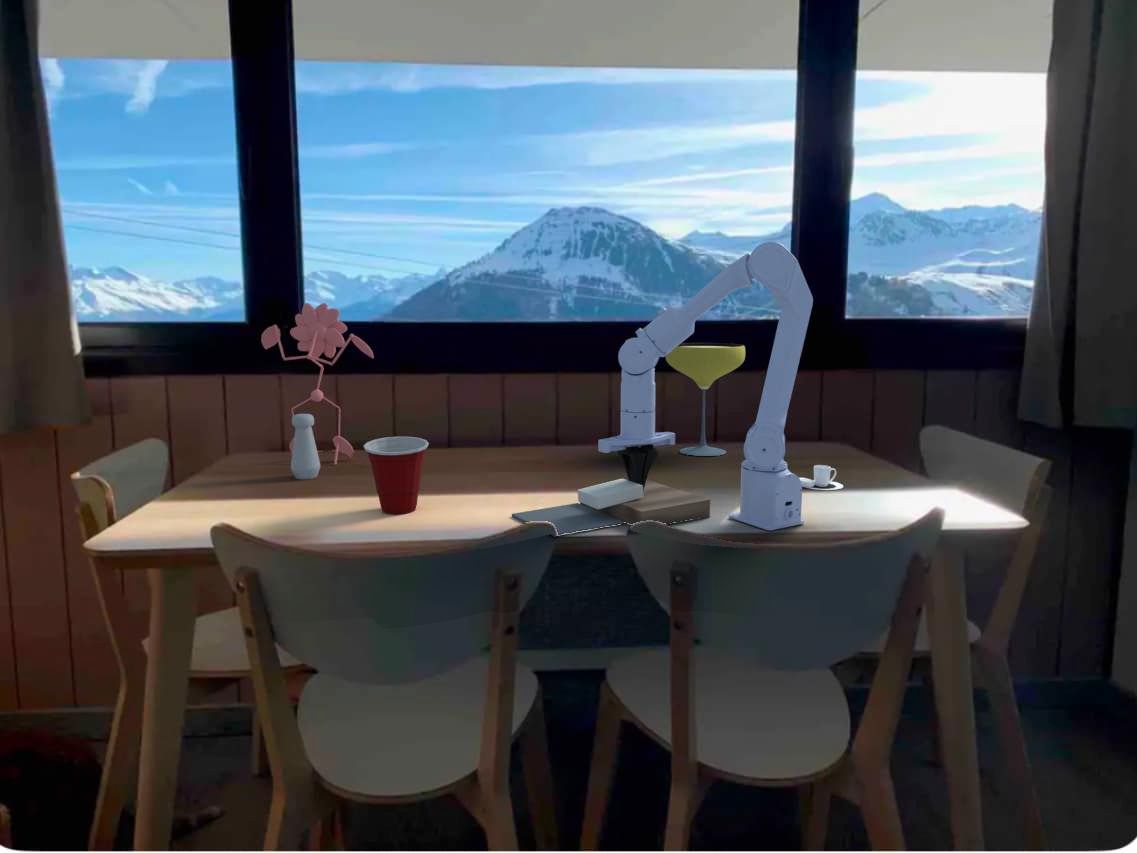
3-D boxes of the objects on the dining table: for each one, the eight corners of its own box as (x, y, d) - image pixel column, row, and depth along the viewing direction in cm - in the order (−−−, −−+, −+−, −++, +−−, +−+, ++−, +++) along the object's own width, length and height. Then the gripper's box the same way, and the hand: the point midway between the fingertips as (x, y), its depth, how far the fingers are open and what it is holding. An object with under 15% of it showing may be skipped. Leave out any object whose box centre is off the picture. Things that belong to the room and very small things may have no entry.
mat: (624, 524, 129) (624, 521, 129) (554, 537, 122) (554, 534, 122) (577, 505, 141) (577, 503, 141) (511, 516, 134) (511, 513, 134)
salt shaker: (286, 477, 164) (282, 414, 162) (311, 473, 168) (308, 411, 166) (300, 481, 160) (296, 417, 158) (326, 477, 164) (323, 414, 162)
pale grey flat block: (622, 489, 138) (622, 478, 137) (643, 497, 133) (642, 485, 132) (578, 501, 133) (577, 489, 133) (598, 509, 128) (597, 497, 128)
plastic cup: (364, 520, 132) (360, 448, 130) (368, 504, 143) (365, 437, 141) (430, 517, 134) (428, 446, 132) (430, 501, 144) (428, 435, 143)
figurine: (371, 466, 174) (364, 303, 169) (257, 464, 177) (246, 303, 171) (393, 452, 189) (387, 302, 184) (288, 451, 192) (278, 303, 186)
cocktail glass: (648, 453, 187) (649, 345, 183) (690, 442, 201) (692, 342, 197) (716, 463, 175) (719, 348, 171) (756, 451, 189) (760, 344, 185)
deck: (709, 517, 133) (710, 499, 133) (641, 530, 126) (642, 511, 125) (644, 494, 148) (644, 478, 148) (580, 505, 141) (579, 488, 141)
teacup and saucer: (793, 490, 153) (794, 469, 152) (797, 481, 160) (798, 461, 160) (842, 493, 150) (843, 472, 149) (843, 484, 157) (844, 464, 157)
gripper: (657, 404, 141) (656, 480, 143) (588, 410, 133) (588, 490, 136) (683, 409, 135) (682, 488, 137) (612, 416, 127) (611, 499, 130)
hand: (637, 490), depth 136 cm, fingers closed
